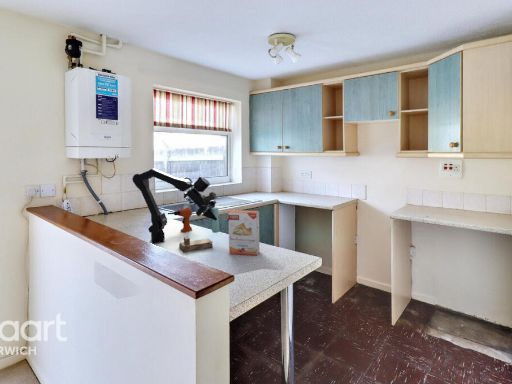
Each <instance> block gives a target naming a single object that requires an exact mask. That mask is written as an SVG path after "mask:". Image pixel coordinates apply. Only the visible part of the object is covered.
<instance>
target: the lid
mask: <svg viewBox="0 0 512 384" xmlns="http://www.w3.org/2000/svg"><path fill="white" fill-rule="evenodd" d="M179 243H180V244H181V245H182V246H183V247H188V246H195V245H201V244H208V243H212V244H213V243H214V242H213V241H212V240H211V239H210V238H201V239H194V240H191V239H190V237H189V236H183V241H180V242H179Z"/></svg>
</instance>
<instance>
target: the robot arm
mask: <svg viewBox="0 0 512 384" xmlns="http://www.w3.org/2000/svg"><path fill="white" fill-rule="evenodd" d="M152 178H156V179H158V180H160V181H161V182H162V181H163V182H165V183H167V184H169V185H171V186H173V187H174V188H175V189H177V190H178V191H180V192H184V193H183V199H187V198H189V199H190V200H191V201H192V202H193V205H194V206H197V207H198V209H197V210H196V211H195V215H196V216H197V217H198V218H199V217H200V216H201V215H202V217H206V218H207V219H211V220H212V219H213V220H217V218H216V216H215V215H214V214H213V213H212V209H211V208H214V207H216V204H217V201H216V199H217V198H218V197H217V194H216V193H215V192H214V191H211V192H209V193H208V195H207V196H206V195H202V194H201V193H204V192H205V191H206V190H207V188H209V187H210V185H211V183H210V181H209V180H207V179H206V178H204V177H203V176H201V175H200V176H199V177H198V178H197V179H196V181H191V180H189V179H187V178H186V179H185V178H180V177H176V176H173V175H171V174H168V173H166V172H163V171H162V170H159V169H158V168H151V169H148V170H147V171H144V172H141V173H135V174H134V175H133V176H132V179H131V181H132V183H133V184H134V186H135V187H136V188H137V189H139V191H140V193H141V194H142V197H143V199H144V202H145V204H146V206H147V208H148V210H149V213H150V222H151V225H150V226H149V227H148V232H149V233H150V242H151V244H159V243H164V242H165V239H166V238H165V232H164V229H165V226H167V225H168V218H167V216H166V213H165V212H161V211H160V209H159V206H158V205H157V204H158V203H156V199H155V198H154V195H153V193H152V190H151V189H150V180H151V179H152ZM186 191H187V192H186Z"/></svg>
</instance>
